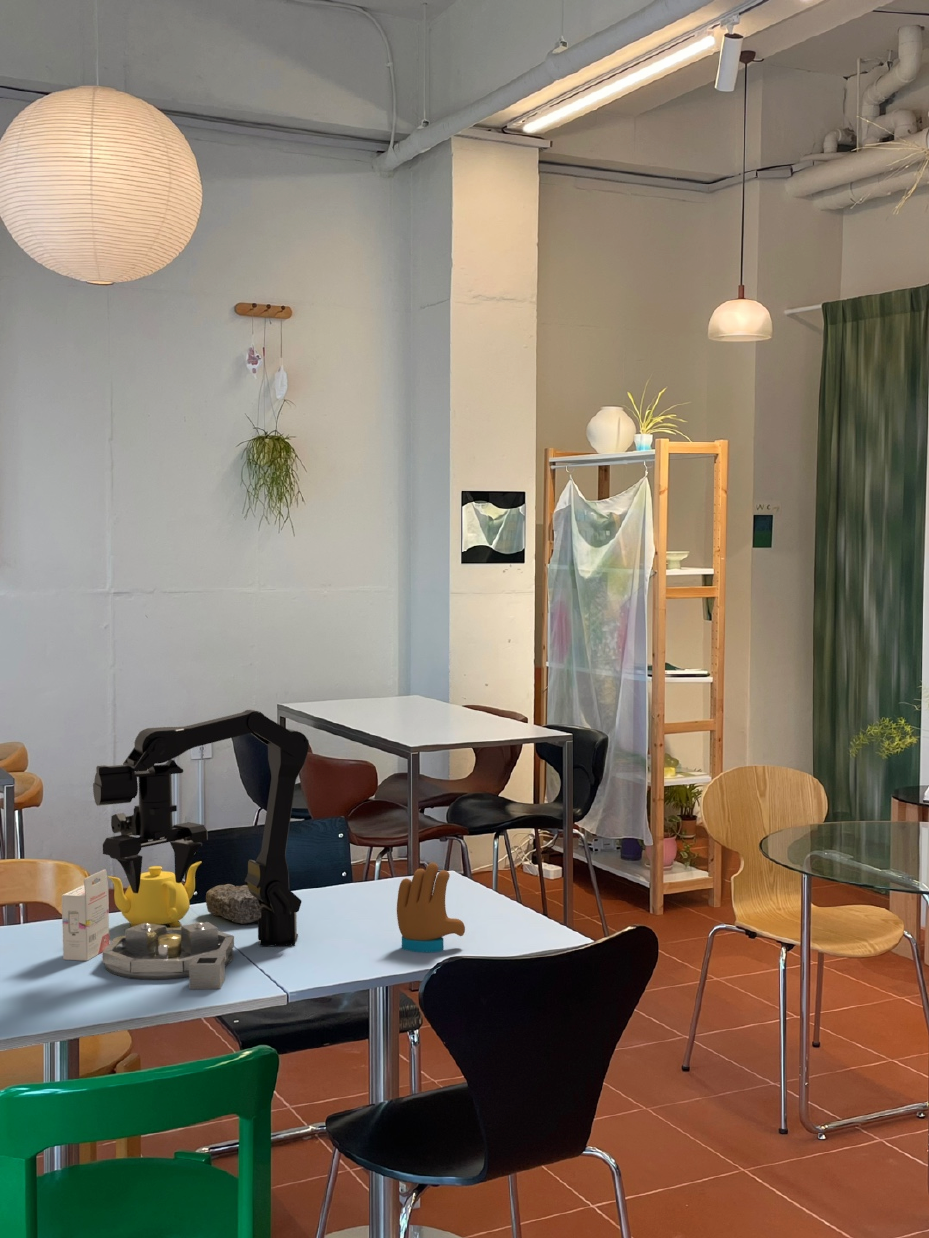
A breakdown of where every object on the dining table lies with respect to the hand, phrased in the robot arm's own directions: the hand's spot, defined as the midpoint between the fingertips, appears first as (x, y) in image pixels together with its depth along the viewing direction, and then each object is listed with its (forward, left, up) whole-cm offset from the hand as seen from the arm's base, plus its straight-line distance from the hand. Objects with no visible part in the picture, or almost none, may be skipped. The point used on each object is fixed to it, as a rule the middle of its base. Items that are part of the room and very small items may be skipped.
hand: (157, 887), depth 222 cm
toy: (-48, -5, -13) cm, 50 cm away
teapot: (+5, -23, -13) cm, 27 cm away
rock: (-11, -29, -13) cm, 34 cm away
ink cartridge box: (+14, -4, -13) cm, 20 cm away
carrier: (-2, +1, -13) cm, 13 cm away
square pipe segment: (-11, +15, -13) cm, 22 cm away
